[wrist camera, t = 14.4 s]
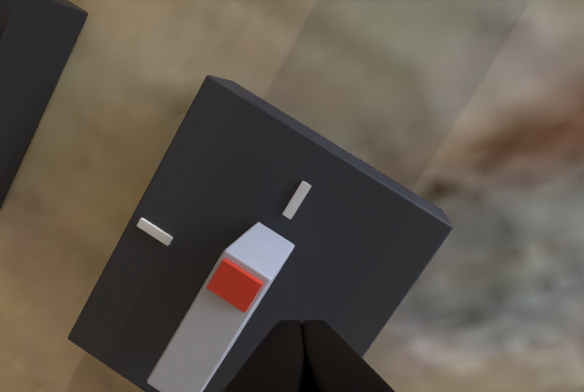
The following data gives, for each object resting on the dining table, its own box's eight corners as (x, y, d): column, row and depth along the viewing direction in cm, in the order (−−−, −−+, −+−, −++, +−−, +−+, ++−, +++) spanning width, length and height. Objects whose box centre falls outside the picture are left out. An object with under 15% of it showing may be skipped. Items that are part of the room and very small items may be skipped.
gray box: (228, 352, 19) (185, 417, 15) (193, 329, 19) (141, 387, 15) (295, 244, 18) (270, 282, 14) (258, 220, 18) (221, 250, 14)
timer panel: (289, 434, 22) (275, 484, 19) (105, 311, 23) (63, 340, 20) (443, 211, 20) (455, 227, 17) (231, 80, 21) (205, 73, 17)
